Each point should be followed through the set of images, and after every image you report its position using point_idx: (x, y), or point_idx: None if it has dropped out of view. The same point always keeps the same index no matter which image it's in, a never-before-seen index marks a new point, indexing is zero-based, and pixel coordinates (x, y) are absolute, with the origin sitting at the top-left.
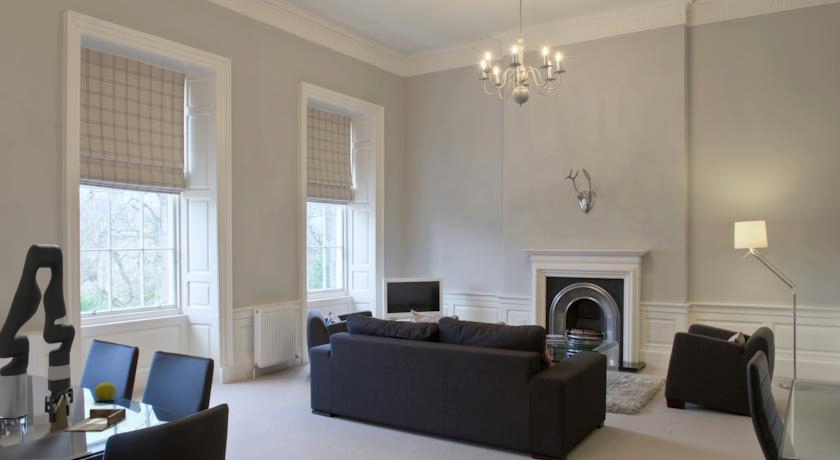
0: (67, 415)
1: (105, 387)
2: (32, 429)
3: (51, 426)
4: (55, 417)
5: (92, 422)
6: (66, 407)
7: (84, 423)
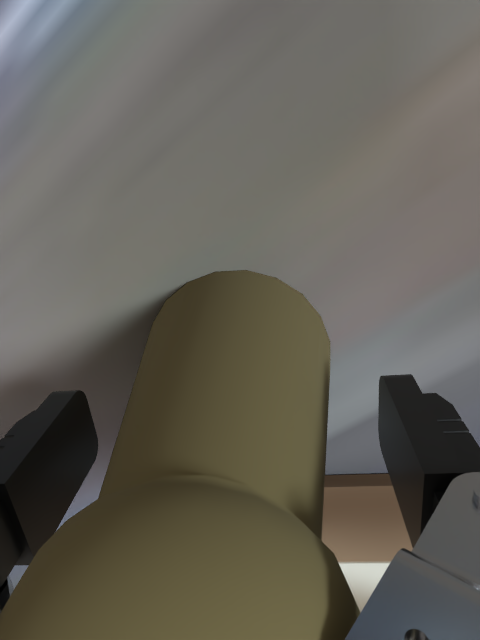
0: (382, 438)
1: None
2: (118, 58)
3: (151, 334)
4: (58, 501)
5: (366, 595)
6: (415, 527)
7: (337, 547)
